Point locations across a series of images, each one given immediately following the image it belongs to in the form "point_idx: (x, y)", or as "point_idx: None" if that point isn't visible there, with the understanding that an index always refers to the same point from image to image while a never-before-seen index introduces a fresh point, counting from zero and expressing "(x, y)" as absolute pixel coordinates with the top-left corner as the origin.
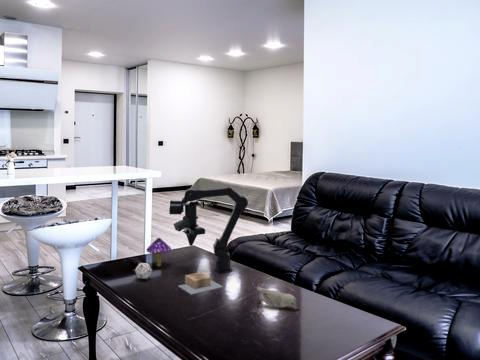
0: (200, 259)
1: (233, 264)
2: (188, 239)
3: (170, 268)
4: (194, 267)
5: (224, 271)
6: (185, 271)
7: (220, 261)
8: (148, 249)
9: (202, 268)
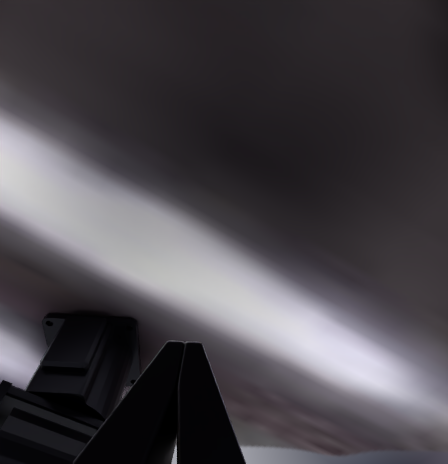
0: (404, 363)
1: None
2: (192, 458)
3: (418, 55)
4: (278, 245)
5: (46, 336)
6: (235, 131)
7: (30, 382)
8: None
9: (217, 275)
